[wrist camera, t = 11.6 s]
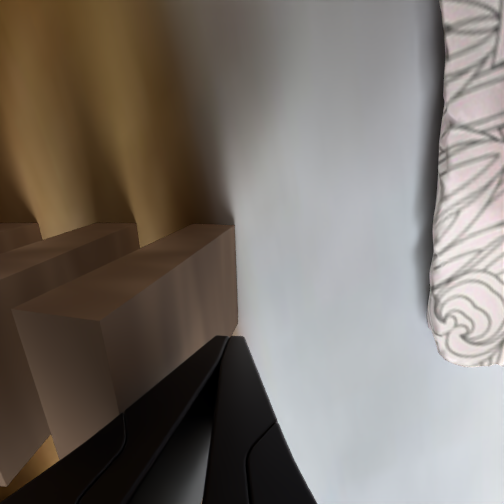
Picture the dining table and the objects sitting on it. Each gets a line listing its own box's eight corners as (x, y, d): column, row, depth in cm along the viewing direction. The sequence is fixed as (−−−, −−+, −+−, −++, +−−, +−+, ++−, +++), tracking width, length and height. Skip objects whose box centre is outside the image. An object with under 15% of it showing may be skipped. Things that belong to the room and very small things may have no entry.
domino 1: (136, 223, 13) (-69, 308, 5) (149, 316, 14) (7, 486, 7) (95, 222, 13) (-158, 304, 5) (113, 314, 15) (-66, 479, 7)
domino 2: (234, 225, 12) (99, 321, 5) (238, 322, 14) (140, 511, 6) (193, 223, 13) (11, 309, 5) (201, 318, 14) (69, 489, 7)
